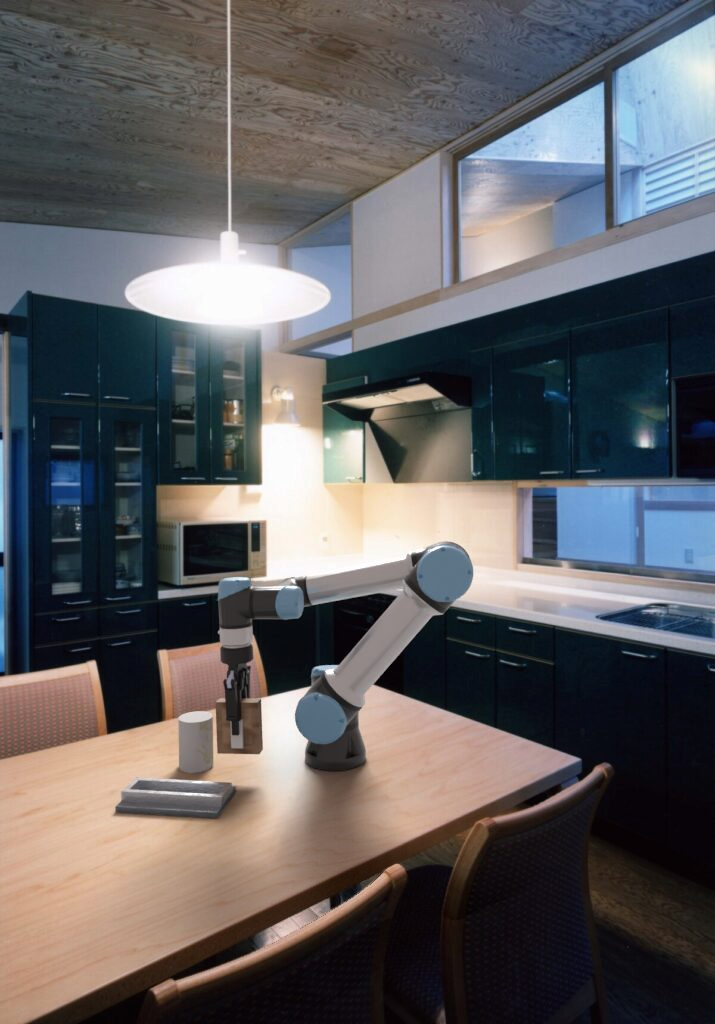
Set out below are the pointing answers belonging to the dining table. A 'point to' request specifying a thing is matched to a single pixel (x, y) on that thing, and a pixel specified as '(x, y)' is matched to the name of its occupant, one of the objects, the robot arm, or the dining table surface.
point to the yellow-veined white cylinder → (195, 741)
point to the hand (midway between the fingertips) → (240, 744)
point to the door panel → (250, 727)
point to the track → (175, 797)
